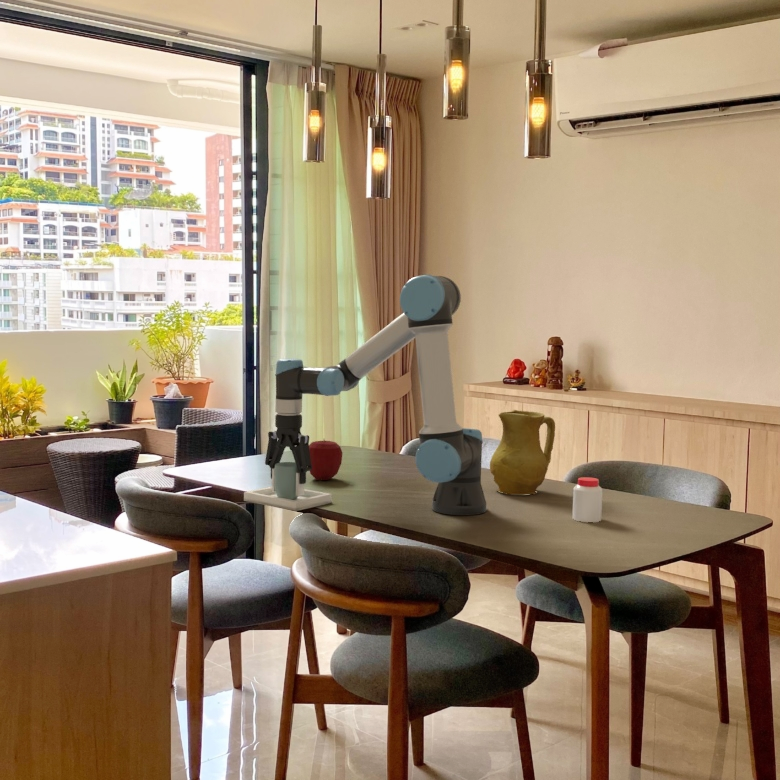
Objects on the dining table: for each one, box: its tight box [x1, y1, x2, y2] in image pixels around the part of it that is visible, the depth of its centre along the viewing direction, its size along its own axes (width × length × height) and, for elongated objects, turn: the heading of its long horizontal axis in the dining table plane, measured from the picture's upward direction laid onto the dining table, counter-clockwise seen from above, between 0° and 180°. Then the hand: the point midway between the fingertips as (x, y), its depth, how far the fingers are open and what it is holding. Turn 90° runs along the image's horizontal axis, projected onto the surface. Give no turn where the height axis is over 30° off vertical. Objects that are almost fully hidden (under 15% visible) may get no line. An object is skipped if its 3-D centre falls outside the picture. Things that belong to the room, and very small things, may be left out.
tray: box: [243, 486, 333, 512], centre depth 278 cm, size 20×15×2 cm
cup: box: [274, 461, 299, 500], centre depth 278 cm, size 8×8×10 cm
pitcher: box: [489, 409, 556, 495], centre depth 298 cm, size 17×19×25 cm
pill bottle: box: [571, 476, 604, 523], centre depth 264 cm, size 8×8×11 cm
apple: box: [309, 439, 343, 481], centre depth 313 cm, size 12×12×13 cm
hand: (287, 492), depth 278 cm, fingers open, 9 cm apart
